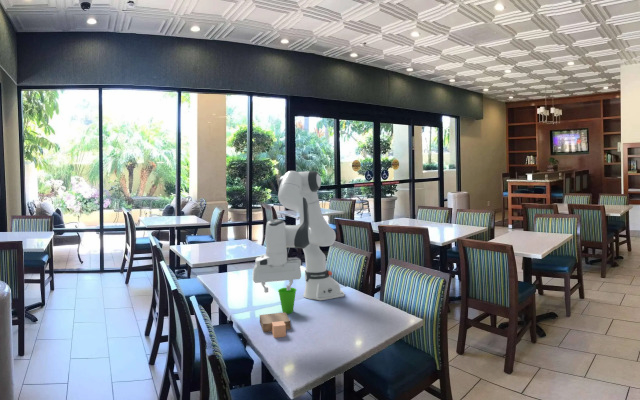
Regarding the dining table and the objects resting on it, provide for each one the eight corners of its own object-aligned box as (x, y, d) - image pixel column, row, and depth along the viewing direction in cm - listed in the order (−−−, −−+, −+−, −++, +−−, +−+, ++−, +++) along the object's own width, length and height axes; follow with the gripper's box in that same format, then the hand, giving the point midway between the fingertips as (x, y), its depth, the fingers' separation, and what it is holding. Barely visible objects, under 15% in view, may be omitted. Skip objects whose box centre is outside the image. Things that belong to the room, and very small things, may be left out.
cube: (283, 332, 184) (283, 320, 184) (285, 336, 179) (285, 325, 179) (272, 333, 183) (271, 322, 182) (274, 338, 178) (273, 326, 178)
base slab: (285, 320, 199) (285, 312, 199) (290, 329, 187) (290, 320, 187) (259, 323, 196) (259, 315, 196) (263, 333, 184) (263, 324, 184)
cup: (276, 310, 212) (275, 288, 211) (294, 307, 215) (293, 286, 214) (281, 316, 204) (280, 293, 203) (299, 313, 207) (298, 291, 206)
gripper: (299, 255, 184) (300, 286, 185) (251, 258, 179) (252, 291, 180) (302, 258, 178) (303, 290, 179) (253, 262, 173) (254, 295, 174)
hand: (277, 291), depth 180 cm, fingers open, 8 cm apart
